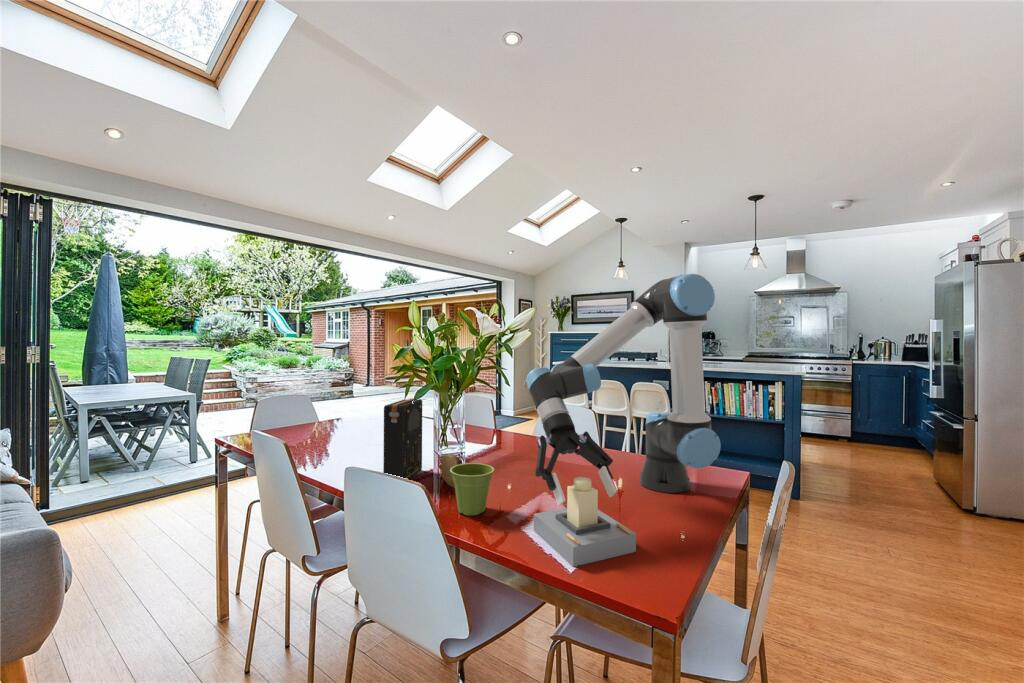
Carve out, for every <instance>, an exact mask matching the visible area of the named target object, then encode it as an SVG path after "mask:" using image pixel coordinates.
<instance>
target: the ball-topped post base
mask: <svg viewBox="0 0 1024 683" xmlns="http://www.w3.org/2000/svg"><path fill="white" fill-rule="evenodd" d="M533 531H534V532H535V533H536V534H537V535H538V536H539V537H540V538H541V539H542V540H543V541H545V543H547V544H548V545H549V546H550V547H551V548H552V549H553V550H554V551H555V552H556V553H558V554H559V556H561V557H562V558H563V559H564V560H565V561H566V562H567V563H568V564H570V566H571V567H572V568H574V566H575V567H577V566H578V565H579V566H582V565H587V564H590V563H595V562H600V561H603V560H607V559H611V558H615V557H620V556H624V555H628V554H633V553H635V552H637V533H636V532H634V531H633V530H631V529H630V528H628V527H627V526H625V525H623V524H622V523H620V522H618V520H615V519H614V518H612V517H611V516H609V515H608V514H606V513H605V512H602V510H600V509H598V524H594V525H589V526H584V527H579V528H577V527H576V526H575V525H573V524H572V523H571V522H569V521H568V520H567V507H566V508H560V509H554V510H548V511H543V512H537V513H533ZM579 566H578V567H579Z"/></svg>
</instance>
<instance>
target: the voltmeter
mask: <svg viewBox="0 0 1024 683" xmlns="http://www.w3.org/2000/svg"><path fill="white" fill-rule="evenodd" d="M414 399H415V400H416V399H417V398H409V399H405V398H404V399H401V400H398V401H395V402H391V403H389V404H385V405H384V407H383V466H382V467H383V471H382V472H383V473H388V474H392V475H396V476H400V477H403V478H408V480H410V479H411V478H412V477H414V476H415V475H416V474H418V473H419V472H421V471H422V470H423V469H422V468H423V400H422V399H421V398H420V399H419V400H418V399H417V400H416V401H415V402H414V404H412V401H413V400H414ZM417 472H418V473H417ZM414 474H415V475H414ZM413 475H414V476H413Z"/></svg>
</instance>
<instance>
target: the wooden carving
mask: <svg viewBox="0 0 1024 683" xmlns="http://www.w3.org/2000/svg"><path fill="white" fill-rule="evenodd" d="M440 463H441V464H439V465H438V468H439V470H441V473H440V476H441V478H442V479H443V481H445V483H446V484H447V485H448V486H449V487H451V488H453V489H455V484H454V481H453V476H452V473H451V472H450V469H451V468H452V467H453V466H456V465H460V464H464V463H463V461H462V459H460V458H459V457H458V456H457V455H456V454H454V453H447V454H446V453H445V454H442V455H441V456H440Z"/></svg>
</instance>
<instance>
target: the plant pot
mask: <svg viewBox="0 0 1024 683" xmlns="http://www.w3.org/2000/svg"><path fill="white" fill-rule="evenodd" d="M450 472H451V473H452V476H453V481H454V484H455V488H454V490H455V498H456V505H457V510H458V512H459V514H463V515H464V516H470V517H471V516H477V515H480V514H481V513H484V512H485V511H486V507H487V501H488V500H487V499H488V495H489V488H490V483H491V480H492V476H493V473H495V468H494V467H493V466H492V465H489V464H485V463H478V462H477V463H476V462H474V463H473V462H469V463H467V462H466V463H463V464H460V465H456V466H453V467H452V468H451V469H450Z"/></svg>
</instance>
